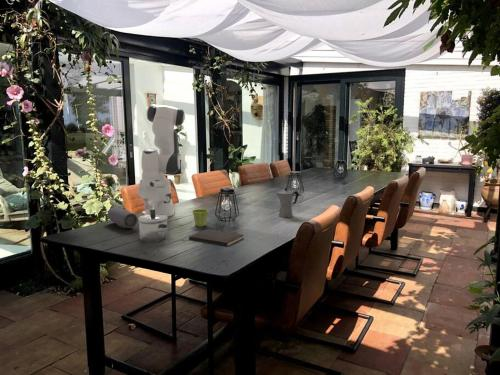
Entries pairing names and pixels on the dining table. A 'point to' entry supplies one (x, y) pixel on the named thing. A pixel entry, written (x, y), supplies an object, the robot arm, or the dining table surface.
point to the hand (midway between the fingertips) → (151, 208)
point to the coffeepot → (286, 202)
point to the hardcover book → (216, 237)
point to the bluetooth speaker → (122, 217)
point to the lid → (152, 217)
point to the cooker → (153, 231)
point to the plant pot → (200, 217)
